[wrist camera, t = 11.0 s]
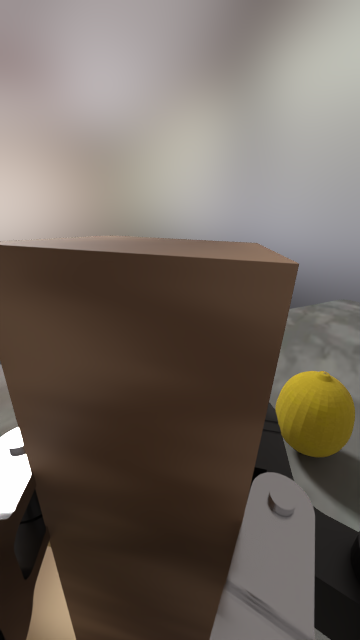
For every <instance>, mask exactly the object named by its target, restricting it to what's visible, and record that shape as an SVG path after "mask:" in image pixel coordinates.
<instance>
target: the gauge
mask: <svg viewBox="0 0 360 640" xmlns="http://www.w3.org/2000/svg"><path fill="white" fill-rule="evenodd" d="M298 267H299V264H298V263H296V262H294V261H292V260H290V259H288V258H286V257H284V256H282V255H280V254H278V253H276V252H274V251H272V250H270V249H268V248H266V247H264V246H262V245H260V244H258V243H244V242H226V241H206V240H187V239H166V238H165V239H164V238H148V237H128V236H93V237H74V238H54V239H36V240H18V241H17V240H16V241H0V361H1V364H2V368H3V372H4V375H5V379H6V383H7V386H8V390H9V394H10V398H11V401H12V405H13V409H14V412H15V416H16V420H17V423H18V427H19V431H20V434H21V438H22V442H23V445H24V449H25V453H26V456H27V460H28V464H29V468H30V470H31V471H33V473H34V477H35V481H36V484H37V485H36V488H35V490H36V493H37V497H38V501H39V504H40V508H41V512H42V515H43V519H44V523H45V526H48V530H49V534H50V540H49V543H48V547H51V549H52V552H53V556H54V560H55V563H56V567H57V571H58V574H59V578H60V582H61V585H62V589H63V593H64V597H65V600H66V604H67V608H68V611H69V615H70V619H71V622H72V626H73V630H74V633H75V637H76V640H210V636H211V632H212V628H213V625H214V621H215V617H216V613H217V610H218V606H219V602H220V599H221V595H222V592H223V588H224V585H225V582H226V579H227V576H228V572H229V569H230V565H231V561H232V557H233V554H234V550H235V546H236V542H237V538H238V535H239V531H240V527H241V523H242V521H243V517H244V513H245V508H246V504H247V499H248V495H249V490H250V485H251V481H252V476H253V472H254V467H255V463H256V458H257V454H258V449H259V444H260V440H261V435H262V431H263V426H264V422H265V417H266V413H267V408H268V403H269V399H270V394H271V390H272V385H273V381H274V376H275V372H276V367H277V362H278V358H279V353H280V349H281V344H282V340H283V335H284V331H285V326H286V321H287V317H288V312H289V308H290V303H291V299H292V294H293V289H294V285H295V280H296V275H297V271H298Z"/></svg>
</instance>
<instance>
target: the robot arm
mask: <svg viewBox="0 0 360 640" xmlns="http://www.w3.org/2000/svg"><path fill="white" fill-rule="evenodd" d="M36 485H37V484H36V481H35V477H34V473H33V471H31V470H30V468H29V464H28V460H27V456H26V453H25V449H24V445H23V442H22V438H21V434H20V431H19V428H16V429H14V430H12V431H10V432H8V433H7V434H5V435H4V436H2V437H1V438H0V640H26V638H27V635H28V631H29V626H30V622H31V616H32V610H33V596H34V589H35V585H36V581H37V577H38V574H39V571H40V568H41V565H42V562H43V559H44V556H45V552H46V549H47V546H48V543H49V540H50V534H49V530H48V526H45V523H44V519H43V515H42V512H41V508H40V504H39V501H38V497H37V493H36V490H35V488H36ZM314 628H316V629H317V630H319V631H320V632H321V633H323V634H324V635H325V636H327V637H328V638H329V639H331V640H360V532H357V531H355V530H353V529H352V528H350V527H348V526H346V525H344V524H342V523H340V522H338V521H336V520H334V519H333V518H331V517H329V516H327V515H325V514H324V513H322V512H320V511H319V510H318V509H316V508H315V507H314V506H313V505H312V503H311V501H310V499H309V497H308V495H307V494H306V493H305V491H304V490H303V489H302V488H301V487H300V486H299V485H298V484H297V483H296V482H294V479H293V476H292V472H291V469H290V465H289V461H288V457H287V453H286V449H285V445H284V441H283V438H282V435H281V430H280V426H279V424H278V418H277V414H276V410H275V409H274V408H273V407H272V405H271V404H270V403H268V408H267V413H266V417H265V422H264V426H263V431H262V435H261V440H260V444H259V449H258V454H257V458H256V463H255V467H254V472H253V476H252V481H251V485H250V490H249V495H248V499H247V504H246V508H245V513H244V517H243V521H242V523H241V527H240V531H239V535H238V538H237V542H236V546H235V550H234V554H233V557H232V561H231V565H230V569H229V572H228V576H227V579H226V582H225V585H224V588H223V592H222V595H221V599H220V602H219V606H218V610H217V613H216V617H215V621H214V625H213V628H212V632H211V636H210V640H315V636H314Z"/></svg>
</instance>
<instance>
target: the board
mask: <svg viewBox="0 0 360 640" xmlns="http://www.w3.org/2000/svg"><path fill="white" fill-rule="evenodd" d="M26 640H76V637H75V633H74V630H73V626H72V622H71V619H70V615H69V611H68V608H67V604H66V600H65V597H64V593H63V589H62V585H61V582H60V578H59V574H58V571H57V567H56V563H55V560H54V556H53V552H52V549H51V547H48V546H47V549H46V552H45V556H44V559H43V562H42V565H41V568H40V571H39V574H38V577H37V581H36V585H35V589H34V596H33V610H32V616H31V622H30V626H29V631H28V635H27V638H26Z"/></svg>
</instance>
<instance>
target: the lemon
mask: <svg viewBox="0 0 360 640" xmlns="http://www.w3.org/2000/svg"><path fill="white" fill-rule="evenodd" d="M276 414H277V418H278V424H279V426H280V430H281V435H282V437H283V438H284V439H285V441H286V442H287V443H288V444H289V445H290V446H291V447H292V448H294V449H295V450H296V451H298V452H300V453H302V454H304V455H307V456H311V457H327V456H330V455H332V454H335V453H337V452H338V451H339V450H341V449H342V447H343V446H344V445H345V444H346V443H347V442H348V440H349V438H350V436H351V434H352V430H353V426H354V421H355V408H354V403H353V400H352V397H351V395H350V393H349V392H348V390H347V389H346V388H345V387H344V385H343V384H342V383H340V382H339V381H338V380H337V379H335V378H334V377H332V376H330V374H329V373H327V372H324V371H320V372H316V371H309V372H303V373H300V374H297V375H295V376H293V377H292V378H291V379H290V380H289V381H288V382H287V383H286V384H285V385H284V387H283V388H282V390H281V392H280V395H279V397H278V400H277V403H276Z"/></svg>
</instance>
